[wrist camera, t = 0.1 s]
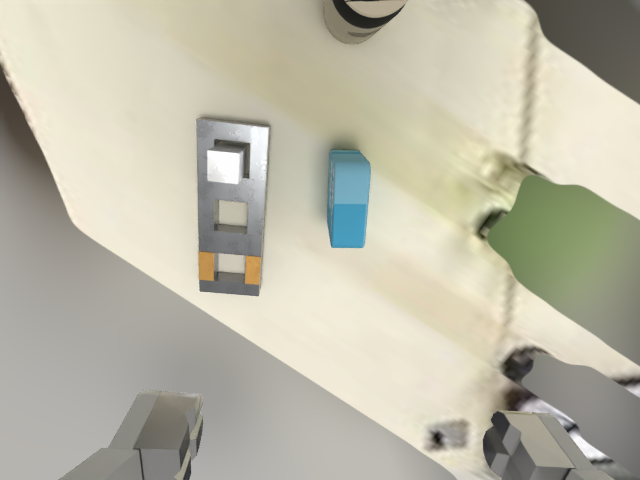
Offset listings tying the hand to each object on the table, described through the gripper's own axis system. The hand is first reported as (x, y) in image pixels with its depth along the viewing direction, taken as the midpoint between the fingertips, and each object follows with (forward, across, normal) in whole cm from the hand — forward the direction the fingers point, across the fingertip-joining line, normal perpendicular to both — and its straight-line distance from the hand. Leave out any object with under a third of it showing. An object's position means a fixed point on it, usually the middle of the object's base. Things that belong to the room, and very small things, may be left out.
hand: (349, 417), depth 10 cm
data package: (+48, -5, +5) cm, 49 cm away
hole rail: (+48, +12, +11) cm, 51 cm away
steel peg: (+48, +12, +2) cm, 49 cm away
